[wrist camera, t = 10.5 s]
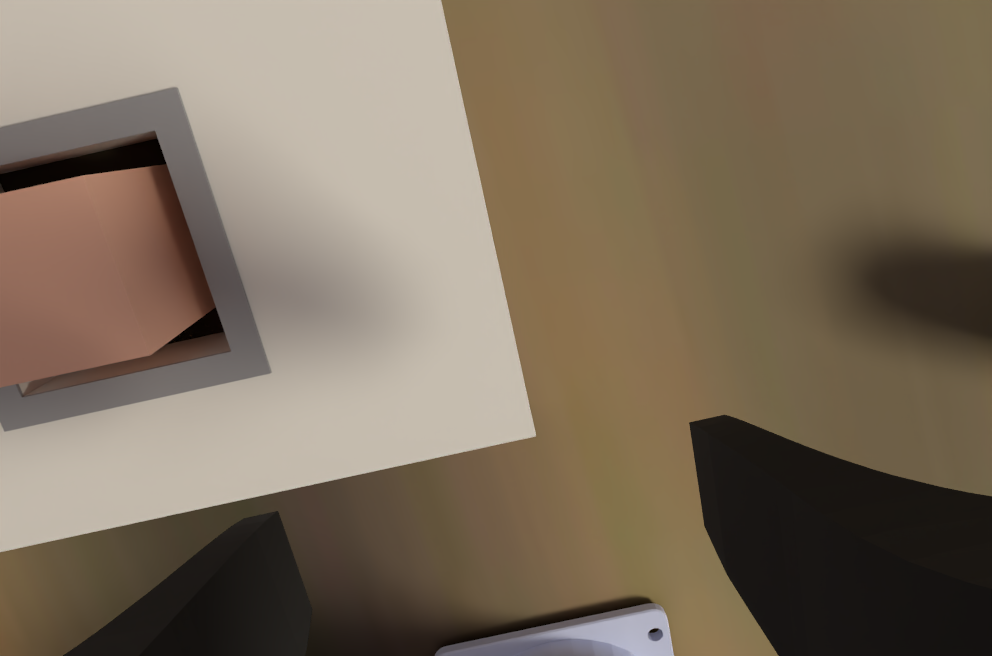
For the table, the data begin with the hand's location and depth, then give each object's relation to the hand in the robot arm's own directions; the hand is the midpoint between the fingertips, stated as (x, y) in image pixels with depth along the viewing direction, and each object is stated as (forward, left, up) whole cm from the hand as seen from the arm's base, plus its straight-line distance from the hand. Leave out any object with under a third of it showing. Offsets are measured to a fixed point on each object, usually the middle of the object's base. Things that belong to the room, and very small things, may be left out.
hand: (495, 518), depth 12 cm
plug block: (+5, +9, -10) cm, 14 cm away
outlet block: (+5, +9, -9) cm, 14 cm away
